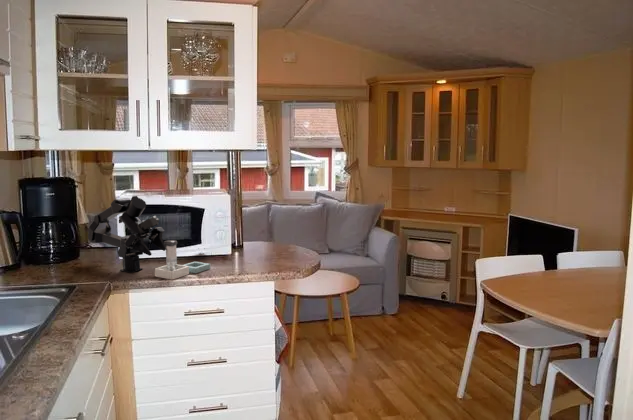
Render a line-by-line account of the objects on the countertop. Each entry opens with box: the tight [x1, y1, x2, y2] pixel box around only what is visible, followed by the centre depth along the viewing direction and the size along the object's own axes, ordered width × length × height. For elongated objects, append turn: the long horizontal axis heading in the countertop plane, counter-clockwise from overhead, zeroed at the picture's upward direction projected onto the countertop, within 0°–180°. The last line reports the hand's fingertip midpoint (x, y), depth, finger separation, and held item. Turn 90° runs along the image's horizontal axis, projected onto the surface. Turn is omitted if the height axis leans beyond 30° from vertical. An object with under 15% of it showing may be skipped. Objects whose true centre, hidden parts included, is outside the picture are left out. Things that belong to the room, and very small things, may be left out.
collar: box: [183, 261, 211, 274], centre depth 213 cm, size 9×9×2 cm
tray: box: [154, 263, 190, 280], centre depth 205 cm, size 10×10×3 cm
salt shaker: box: [163, 239, 178, 271], centre depth 204 cm, size 5×5×13 cm
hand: (158, 252), depth 206 cm, fingers open, 9 cm apart
